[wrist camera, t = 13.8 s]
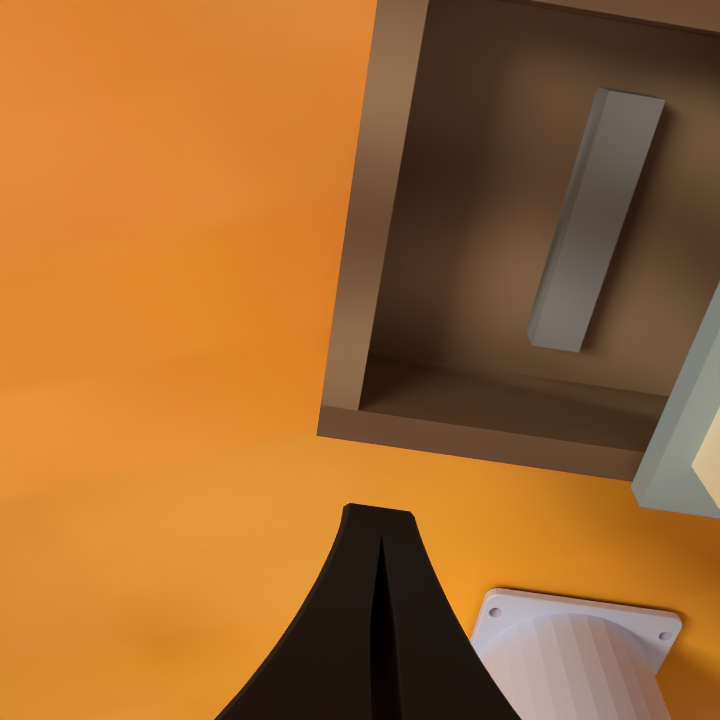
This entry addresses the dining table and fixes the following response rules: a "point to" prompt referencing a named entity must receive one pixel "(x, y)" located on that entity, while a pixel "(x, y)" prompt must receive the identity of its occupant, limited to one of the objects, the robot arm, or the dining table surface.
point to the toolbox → (527, 229)
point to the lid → (688, 433)
